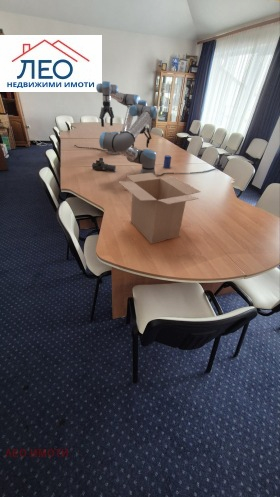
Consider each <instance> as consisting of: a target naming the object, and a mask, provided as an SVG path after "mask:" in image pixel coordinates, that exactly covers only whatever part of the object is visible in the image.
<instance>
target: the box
mask: <svg viewBox="0 0 280 497" xmlns="http://www.w3.org/2000/svg"><path fill="white" fill-rule="evenodd" d="M126 177H127V178H128V179H129V180H130V181H117V182H118V184H120V185H121V186H122V187H123V188H124V189H126V190H127V191H128V192H129V193H131V212H130V216H131V217H130V222H131V224H132V225H133V226H134V227H135V228H136V229H137V230H138V231H139V232H140V233H141V234H142V236H144V237H145V239H147V241H149V242H150V244H151V245H152V244H155V243H159V242H162V241H167V240H171V239H174V238H178V237H179V236H180V232H181V228H182V222H183V218H184V213H185V207H186V202H189V201H193V200H199V198H198V197H195V196H192V195H193V194H197V193H201V190H199V189H197V188H195V187H194V186H191V185H190V184H188V183H186V182H185V181H183V180H181V179H179V178H177V177H175V176H173V175H171V176H165V177H159V176H157V174H156V175H154V174H153V173H145V174H140V173H136V174H128V175H126Z"/></svg>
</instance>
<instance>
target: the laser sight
mask: <svg viewBox="0 0 280 497" xmlns="http://www.w3.org/2000/svg"><path fill="white" fill-rule="evenodd" d="M91 168H92V170H95V171H101V172H102V171H103V172H113V173H115V172H116V169H117V167H116V165H114V164H108V163H105V161H104V158H103V157H99V158H98V160H97V159H96V160H95V162H92V164H91Z"/></svg>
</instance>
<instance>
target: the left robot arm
mask: <svg viewBox="0 0 280 497" xmlns="http://www.w3.org/2000/svg"><path fill="white" fill-rule="evenodd" d="M95 89H96V91H97V93H99V94H102V106H101V108H100V113H99V119H100V124H101V125H100V126H101V127H102V128H104V127H105V119H104V118H105V116H106V114H108V116H109V117H110V118H109V126H110V127H112V126H114V125H113V124H114V118H115V114H114V111H113V107H112V104H111V99H113V100H115V101H116V102H117V103H119V104H120V105H122V106H125V107H126V114H125V117H124V121H123V124H122V129H121V130H120V131H110V132H109V133H115V134H124V133H125V132H126V131H128V130H129V129H130V127H131V126H132V125H133V120H134V116H131V115H130V113H129V108H130V106H132V105H136V104H138V100H141V96H139V95H138V94H132V93H124V92H119V86H118V85H117V84H111V81H107V80H102V82H100V83H97V84H96V88H95ZM74 147H76V148H79V149H88V147H87V146H78V145H77V144H74ZM91 149H93V150H99V151H101V152H107V154H109V155H121V154H120V153H118V152H111V151H109V150H107V149H102V148H96V147H91Z"/></svg>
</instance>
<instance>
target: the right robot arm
mask: <svg viewBox="0 0 280 497" xmlns="http://www.w3.org/2000/svg"><path fill="white" fill-rule="evenodd" d="M129 113H130V115H131V116H133V117H137V118H136V120H135V121H134V122H133V123H132V124H131V127H130V129H129V130H128V131H126V132H125V133H124V134H120V133H119V134H115V133H110V132H109V131H102V132H101V134H100V135H99V139H98V144H99V146H100V149H102V150H109V151H111V152H118V153H120V154H119V155H122V156H124V157H126V160H127V161H128V162H130V163H133V164H139V165H141V169H140V172H139V174H145V173H153V174H154V175H156V176H157V177H160V176H161V177H162V176H163V175H168V174H170V175H171V174H173V172H164V173H162V174H156V169H155V167H156V158H157V153H156V152H155V151H154V150H152V149H149V144H150V141H151V140H152V138H153V137H152V135H151V133H150V129H149V127H146V126H147V124H148V123H149V121H150V120H151V119H156V118H157V117H158V108H157V107H156V106H152V105H151V106H150V105H148V101H147V100H145V99H140V100H138V104H136V105H132V106H130V108H129ZM146 132H147V133H146ZM141 134H142V135H143V134H144V136H145V137H146V143H145V144H146V145H145V146H146V148H145V149H138V148H137V147H135V142H136V138H137V137H138V136H139V135H141ZM217 169H218V170H220V168H219V167H215V168H212V169H208V170H204V171H196V172H195V171H194V172H193V171H192V172H191V174H199V173H206V172H210V171H214V170H217Z"/></svg>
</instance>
